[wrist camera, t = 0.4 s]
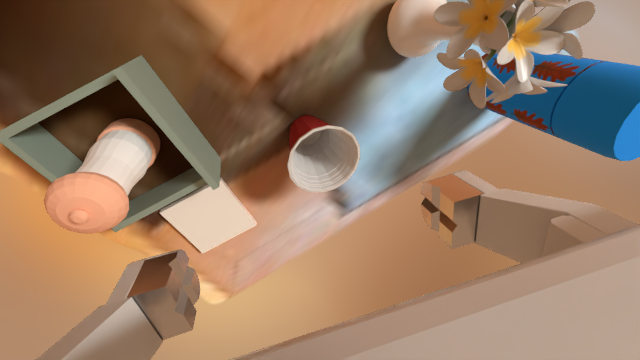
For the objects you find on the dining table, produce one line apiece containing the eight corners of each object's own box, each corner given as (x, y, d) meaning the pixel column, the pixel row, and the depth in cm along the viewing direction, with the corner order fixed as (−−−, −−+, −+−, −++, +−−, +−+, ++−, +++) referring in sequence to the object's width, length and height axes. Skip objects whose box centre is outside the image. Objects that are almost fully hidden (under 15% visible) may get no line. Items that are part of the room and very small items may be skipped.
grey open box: (22, 118, 38) (-28, 146, 30) (141, 54, 38) (119, 66, 30) (127, 208, 48) (108, 245, 41) (221, 159, 48) (219, 187, 41)
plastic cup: (305, 170, 53) (322, 207, 44) (262, 133, 48) (270, 167, 38) (348, 129, 51) (376, 159, 42) (308, 86, 46) (330, 108, 36)
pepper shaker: (156, 167, 46) (117, 252, 30) (101, 155, 43) (27, 242, 27) (164, 126, 43) (127, 196, 27) (107, 110, 40) (27, 178, 24)
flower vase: (398, -73, 38) (597, -167, 17) (460, 30, 48) (636, 48, 27) (333, 10, 41) (437, 14, 20) (404, 92, 51) (524, 150, 30)
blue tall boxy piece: (457, 78, 52) (606, 125, 31) (506, 32, 50) (700, 50, 29) (479, 116, 58) (617, 177, 37) (523, 76, 56) (696, 117, 35)
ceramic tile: (160, 209, 50) (159, 213, 49) (221, 177, 50) (220, 180, 49) (203, 249, 57) (202, 253, 56) (256, 221, 56) (256, 224, 56)
